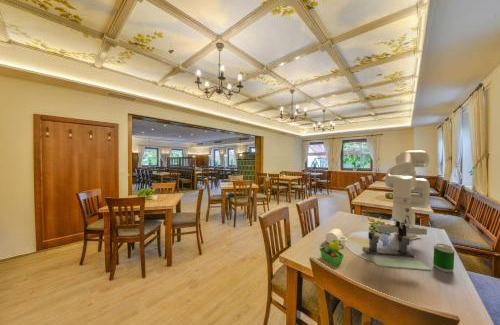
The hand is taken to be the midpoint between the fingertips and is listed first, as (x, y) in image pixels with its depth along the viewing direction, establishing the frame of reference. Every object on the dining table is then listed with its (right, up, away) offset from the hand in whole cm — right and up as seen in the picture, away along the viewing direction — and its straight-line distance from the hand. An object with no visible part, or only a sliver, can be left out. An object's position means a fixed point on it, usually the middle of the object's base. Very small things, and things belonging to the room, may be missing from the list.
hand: (400, 234), depth 105 cm
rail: (0, +1, 0) cm, 1 cm away
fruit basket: (-35, -17, +4) cm, 39 cm away
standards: (+2, -16, +13) cm, 20 cm away
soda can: (+20, -17, -3) cm, 26 cm away
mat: (0, -17, +1) cm, 17 cm away
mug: (-22, -16, +26) cm, 37 cm away
